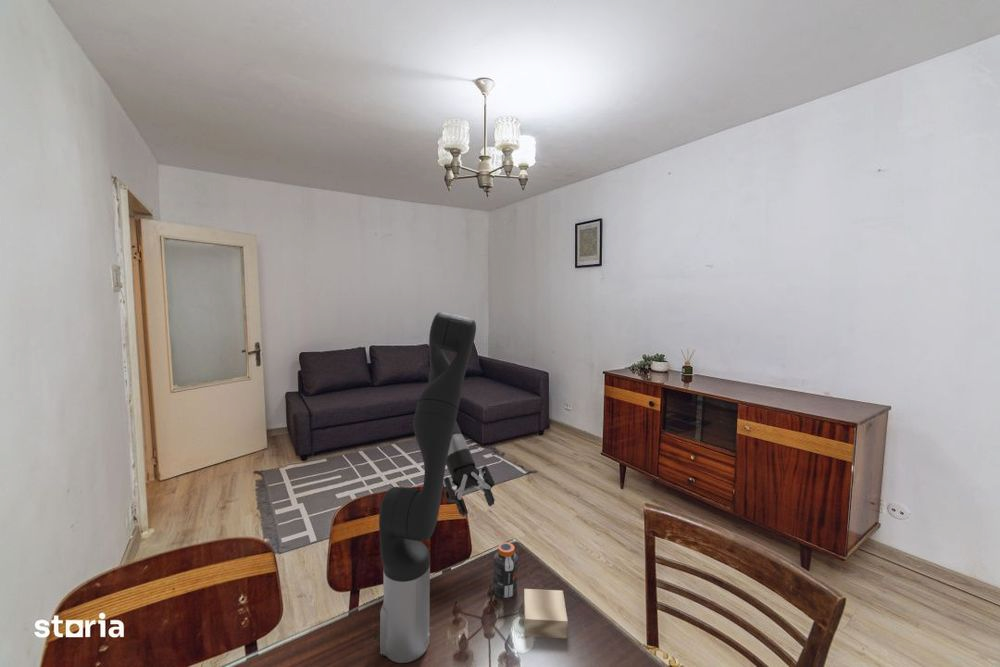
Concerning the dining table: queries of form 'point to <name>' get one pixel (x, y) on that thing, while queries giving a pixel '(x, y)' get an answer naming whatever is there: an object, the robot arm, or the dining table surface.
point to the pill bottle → (505, 571)
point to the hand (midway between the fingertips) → (479, 509)
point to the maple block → (545, 613)
